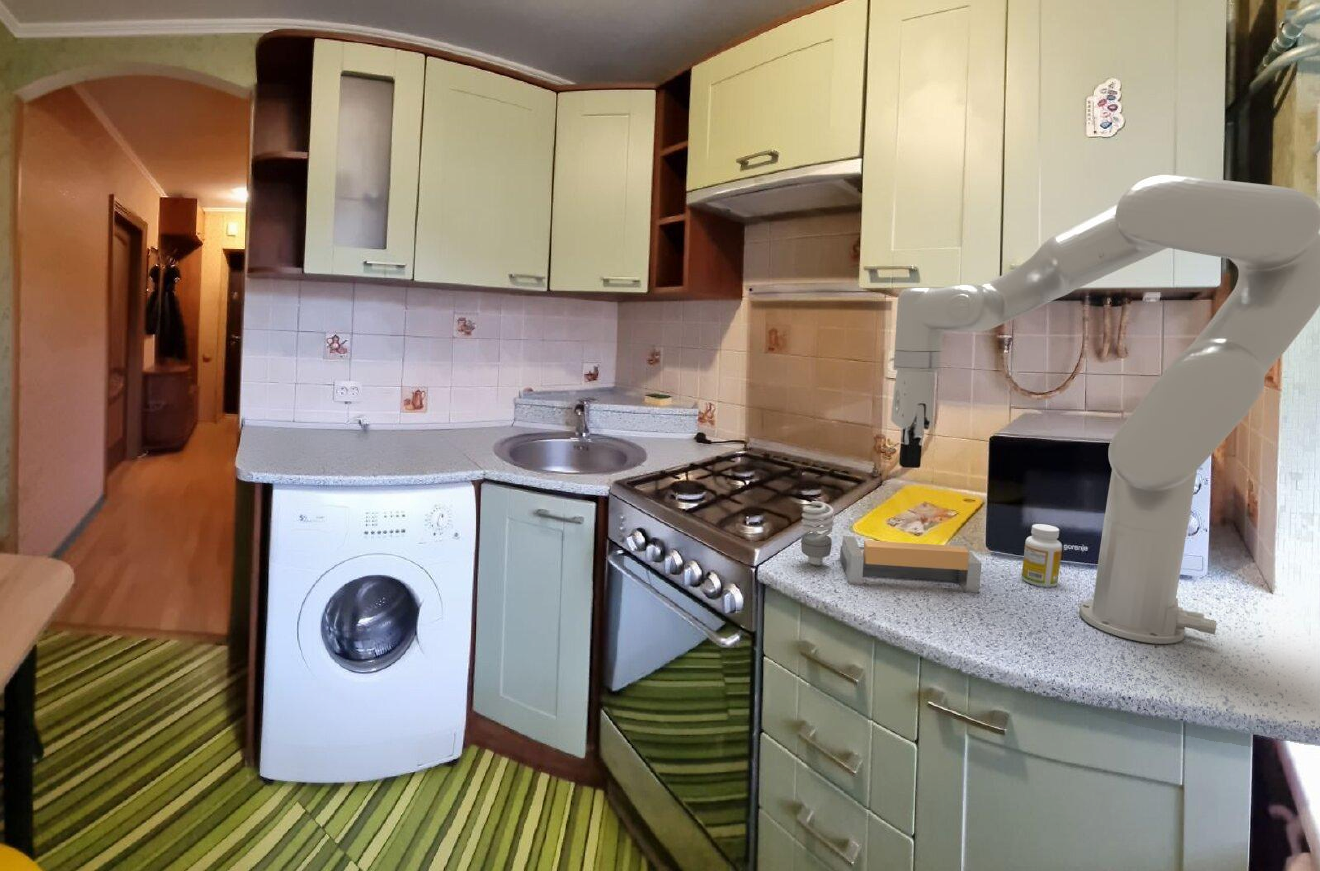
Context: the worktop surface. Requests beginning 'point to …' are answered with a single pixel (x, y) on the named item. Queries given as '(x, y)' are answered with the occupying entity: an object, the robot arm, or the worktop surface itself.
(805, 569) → the worktop surface
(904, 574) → the holder stand
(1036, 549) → the supplement bottle
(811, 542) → the light bulb
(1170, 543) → the robot arm
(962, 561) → the orange long rectangular bar
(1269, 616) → the worktop surface
